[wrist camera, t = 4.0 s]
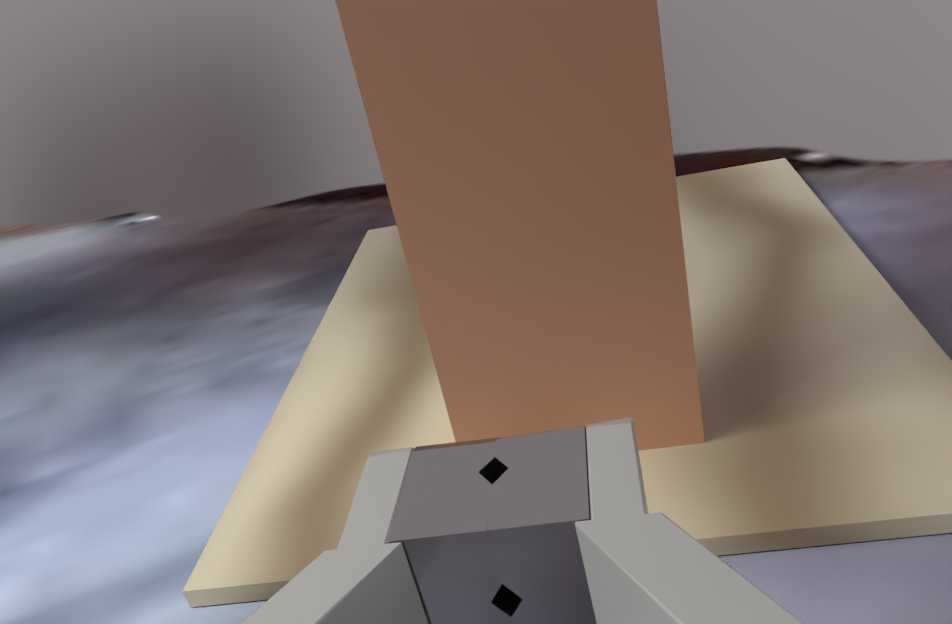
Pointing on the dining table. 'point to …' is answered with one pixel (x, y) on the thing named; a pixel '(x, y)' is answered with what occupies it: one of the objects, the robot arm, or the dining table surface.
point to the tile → (535, 208)
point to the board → (664, 469)
